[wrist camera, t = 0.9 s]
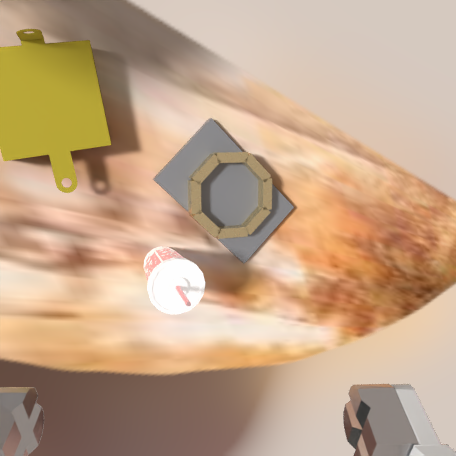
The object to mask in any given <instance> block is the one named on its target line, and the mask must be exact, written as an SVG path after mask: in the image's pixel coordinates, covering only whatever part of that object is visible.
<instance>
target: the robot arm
mask: <svg viewBox="0 0 456 456" xmlns="http://www.w3.org/2000/svg"><path fill="white" fill-rule="evenodd" d="M349 396H350V399H351V400H350V401H349V402H348V403H347V404H345V408H344V412H343V415H344V416H343V419H344V429H345V433H346V437H347V441H348V442H349V443H350V444H351V445H352V446H353V447H354V448H355V449H356V451H355V453H354V456H456V451H454V450H453V449H452V448H451V447H450V446H449V445H447V444H441V442H440V440H439V438H438V436H437V434H436V432H435V430H434V428H433V426H432V424H431V422H430V420H429V418H428V416H427V414H426V412H425V410H424V408H423V406H422V404H421V402H420V400H419V398H418V396H417V393H416V392H415V389H414V388H413V387H412V386H411V385H409V384H396V385H389V384H369V385H353V386H351V388H350V391H349ZM37 397H38V394H37V392H36V389H35V388H18V387H16V388H15V387H0V456H29V454H30V453H31V452H32V451H33V450H34V449H35V448H36V447H37V446H38V445H39V442H40V439H41V436H42V432H43V426H44V412H43V409H42V407H41V406H40V405H38V404H37V403H36V400H37Z"/></svg>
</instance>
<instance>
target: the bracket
mask: <svg viewBox="0 0 456 456" xmlns="http://www.w3.org/2000/svg"><path fill="white" fill-rule="evenodd" d="M27 31H33V32H34V33H30V34H26V33H23V32H27ZM16 33H17V35H18V37H19V38H20V40H21V44H22V46H10V47H0V149H1V153H2V157H3V160H4V161H9V160H15V159H22V158H29V157H35V156H42V155H48V154H49V157H50V161H51V165H52V169H53V174H54V178H55V182H56V185H57V188H58V189H59V190H60V191H62V192H65V193H69V192H72V191H74V190H75V189H76V187H77V179H76V174H75V170H74V166H73V161H72V157H71V153H70V151H75V150H81V149H88V148H95V147H101V146H108V145H111V140H110V135H109V130H108V126H107V121H106V116H105V111H104V106H103V102H102V97H101V92H100V87H99V82H98V78H97V73H96V68H95V63H94V58H93V54H92V49H91V44H90V40H85V41H72V42H60V43H47V44H45V42H44V38H43V35H42V32H41V31H40V30H37V29H24V30H19V31H17V32H16ZM64 178H69V179H71V181H72V185H71V186H70V187H68V188H65V187H63V186H62V184H61V182H62V180H63V179H64Z"/></svg>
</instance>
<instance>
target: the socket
mask: <svg viewBox="0 0 456 456" xmlns="http://www.w3.org/2000/svg"><path fill="white" fill-rule="evenodd" d="M240 162H242V163H243V164H244V165H245V166H246V167H247V169H248V170H249V171H250V172H251V173H252V174H253V175H254V176H255V177H256V178H257V179H258V207H257V208H256V209H255V210H254V211H253V212H252V213H251V214H250V215H249V217H248V218H247V219H246V220H245V221H244V222H243V223H242V224H241V225H233V226H219V227H218V226H216V225H215V224H214V223H213V222H212V221H211V220H210V219H209V218H208V217H207V216H206V215H205V214H204V213H203V212H202V211H201V183H202V182H203V181H204V180H205V178H206V177H207V176H208V175H209V174H210V173H211V172H212V171H213V170H214V169H215V168H216V166H217V165H218V164H219V163H240ZM270 177H271V175H270V174H269V173H268V172H267V170H266V169H265V168H264V167H263V166H262V165H261V164H260V163H259V162H258V161H257V160H256V158H255V157H254V156H253V155H252V154H251V153H248V152H213V154H210V155H209V156H208V157H207V158H206V159H205V160H204V161H203V162H202V163H201V165H200V166H199V167H198V168H197V169H196V170H195V171H194V172H193V173H192V174H191V175H190V176H189V178H190V179H191V180H188V212H189V213H191V214H190V216H191V217H192V218H194V219H195V220H196V221H197V222H198V223H199V224H200V225H201V226H202V227H203V228H204V229H205V230H206V231H208V232H209V233H210V234H211V235H212V236H213V237H215V238H218V239H223V238H235V237H247V236H248V234H249V235H251V234H252V233H253V232H254V230H255V229H256V228H257V227H258V226H259V225H260V224H261V223H262V221H263V220H264V219H265V218H266V217H267V216H268V215H269V214H270V211H269V210H271V209H272V178H270Z"/></svg>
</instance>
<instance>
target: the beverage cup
mask: <svg viewBox="0 0 456 456" xmlns="http://www.w3.org/2000/svg"><path fill="white" fill-rule="evenodd" d="M144 270H145V274H146V277H147V281H148V286H147V290H148V294H149V297H150V300H151V302H152V303H153V304H154V306H155V307H156V308H157V309H158V310H160V311H162V312H164V313H167V314H181V313H184V312H187V311H190V310H191V309H192V308H193V307H194V306H196V305H197V304H198V303H199V301H200V299H201V298H202V296H203V294H204V289H205V280H204V276H203V272H202V271H201V270H200V269H199V267H198V266H197V265H196V264H195V263H193V262H192V261H190V260H188V259H186V258H184V257H182V256H181V255H180V254H179V253H177V252H176V251H175V250H173V249H171V248H169V247H163V246H160V247H157V248H154V249H153V250H151V251H150V252H149V253H148V254H147V256H146V258H145V259H144Z"/></svg>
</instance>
